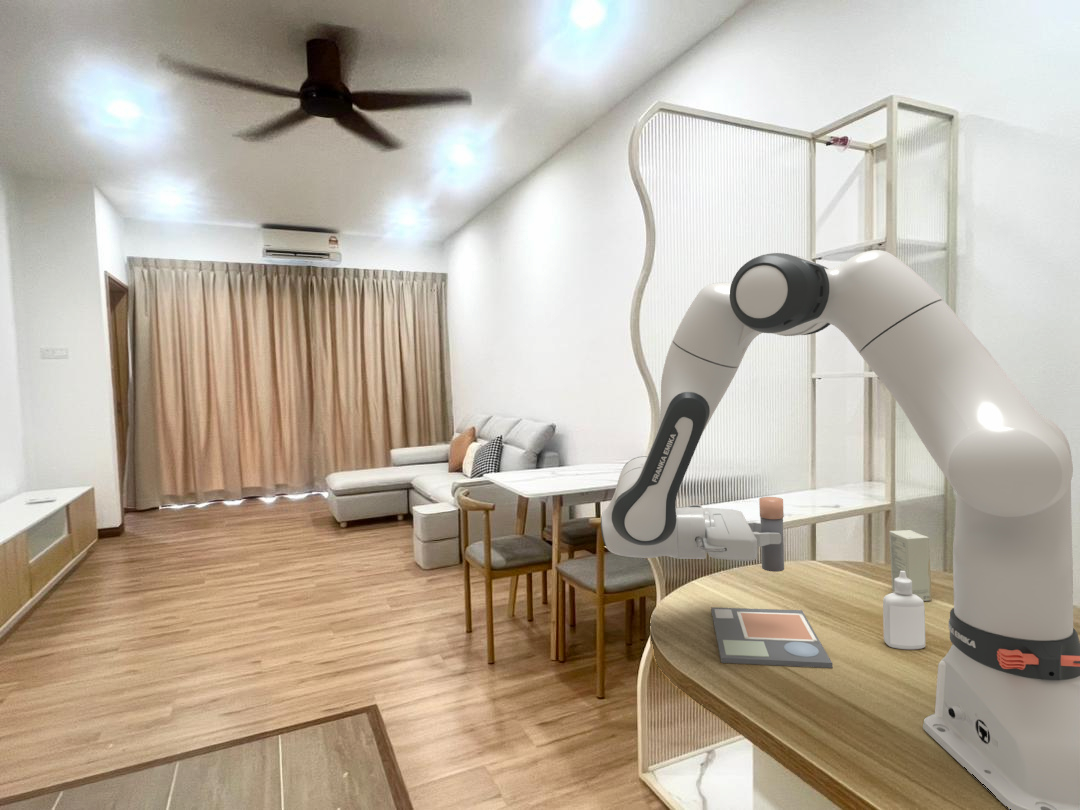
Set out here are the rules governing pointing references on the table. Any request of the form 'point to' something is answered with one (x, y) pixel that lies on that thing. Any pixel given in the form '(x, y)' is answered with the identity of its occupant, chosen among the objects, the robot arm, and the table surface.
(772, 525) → the terracotta marker
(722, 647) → the picture board
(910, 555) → the skincare box
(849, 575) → the table surface
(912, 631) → the eye dropper bottle
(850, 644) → the table surface
